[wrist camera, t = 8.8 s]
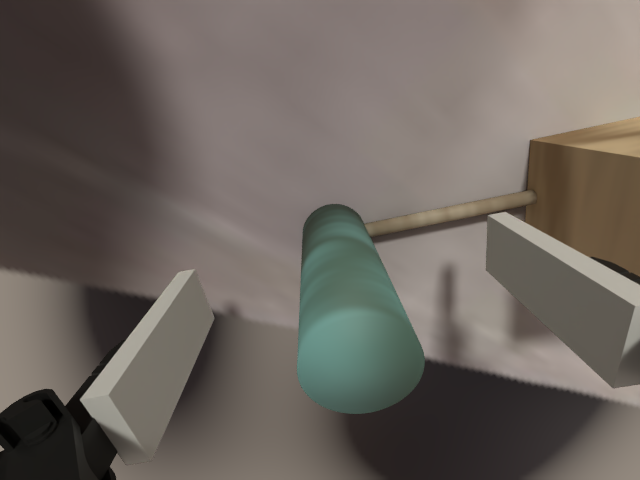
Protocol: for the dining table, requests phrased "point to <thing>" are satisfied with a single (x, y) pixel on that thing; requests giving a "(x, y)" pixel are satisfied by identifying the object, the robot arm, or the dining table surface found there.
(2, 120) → the dining table surface
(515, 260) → the robot arm
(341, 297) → the corded oak block
